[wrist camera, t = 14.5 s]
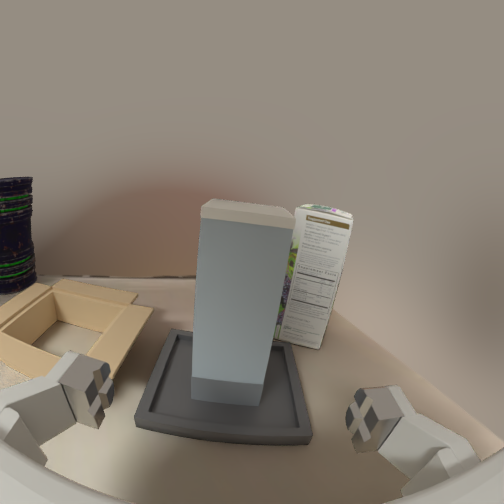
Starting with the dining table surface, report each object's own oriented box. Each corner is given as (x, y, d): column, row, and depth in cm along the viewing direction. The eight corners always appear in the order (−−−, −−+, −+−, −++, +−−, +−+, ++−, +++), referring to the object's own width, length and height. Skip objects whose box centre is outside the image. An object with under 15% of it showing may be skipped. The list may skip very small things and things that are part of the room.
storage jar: (-26, 285, 24) (-35, 183, 20) (12, 265, 33) (8, 177, 29) (8, 300, 24) (-3, 182, 20) (48, 275, 34) (45, 176, 30)
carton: (-23, 369, 13) (-37, 334, 12) (52, 303, 27) (48, 275, 26) (110, 436, 13) (98, 401, 12) (161, 328, 28) (160, 297, 27)
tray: (136, 426, 15) (133, 416, 15) (171, 338, 26) (171, 328, 26) (308, 444, 16) (312, 435, 15) (287, 351, 27) (290, 342, 27)
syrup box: (281, 316, 35) (302, 201, 31) (326, 327, 33) (353, 212, 29) (269, 338, 29) (293, 204, 25) (321, 351, 28) (355, 216, 24)
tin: (190, 398, 18) (201, 206, 14) (199, 359, 23) (212, 198, 19) (258, 406, 18) (296, 218, 15) (256, 366, 23) (283, 207, 20)
